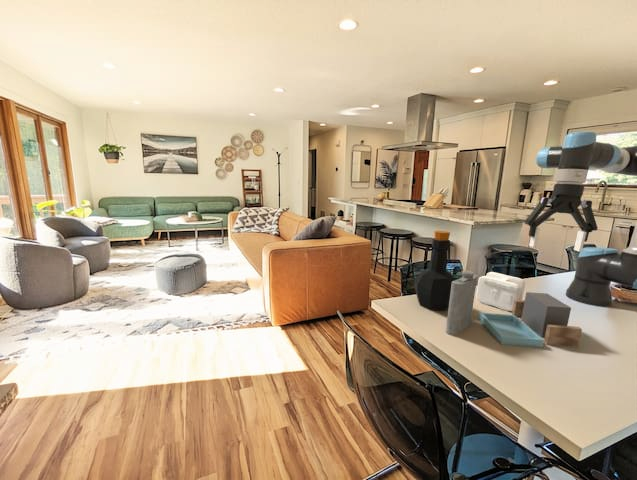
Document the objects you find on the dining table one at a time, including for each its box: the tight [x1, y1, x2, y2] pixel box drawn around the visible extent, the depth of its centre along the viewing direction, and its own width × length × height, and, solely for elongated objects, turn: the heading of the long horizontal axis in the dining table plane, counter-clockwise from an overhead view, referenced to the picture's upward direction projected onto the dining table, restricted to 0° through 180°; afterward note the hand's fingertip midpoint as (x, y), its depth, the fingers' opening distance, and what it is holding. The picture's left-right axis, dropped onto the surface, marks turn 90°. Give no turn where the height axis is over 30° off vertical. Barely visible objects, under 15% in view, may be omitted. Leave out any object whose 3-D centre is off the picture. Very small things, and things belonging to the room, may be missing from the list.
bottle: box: [413, 230, 456, 312], centre depth 118 cm, size 16×16×30 cm
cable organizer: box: [475, 271, 526, 312], centre depth 122 cm, size 15×11×12 cm
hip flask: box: [445, 270, 478, 336], centre depth 101 cm, size 16×4×20 cm, turn 134°
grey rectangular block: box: [520, 291, 572, 339], centre depth 102 cm, size 7×12×11 cm, turn 174°
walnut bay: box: [511, 299, 583, 348], centre depth 103 cm, size 9×21×6 cm, turn 174°
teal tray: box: [477, 312, 544, 348], centre depth 100 cm, size 12×17×2 cm
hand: (554, 248), depth 99 cm, fingers open, 13 cm apart
